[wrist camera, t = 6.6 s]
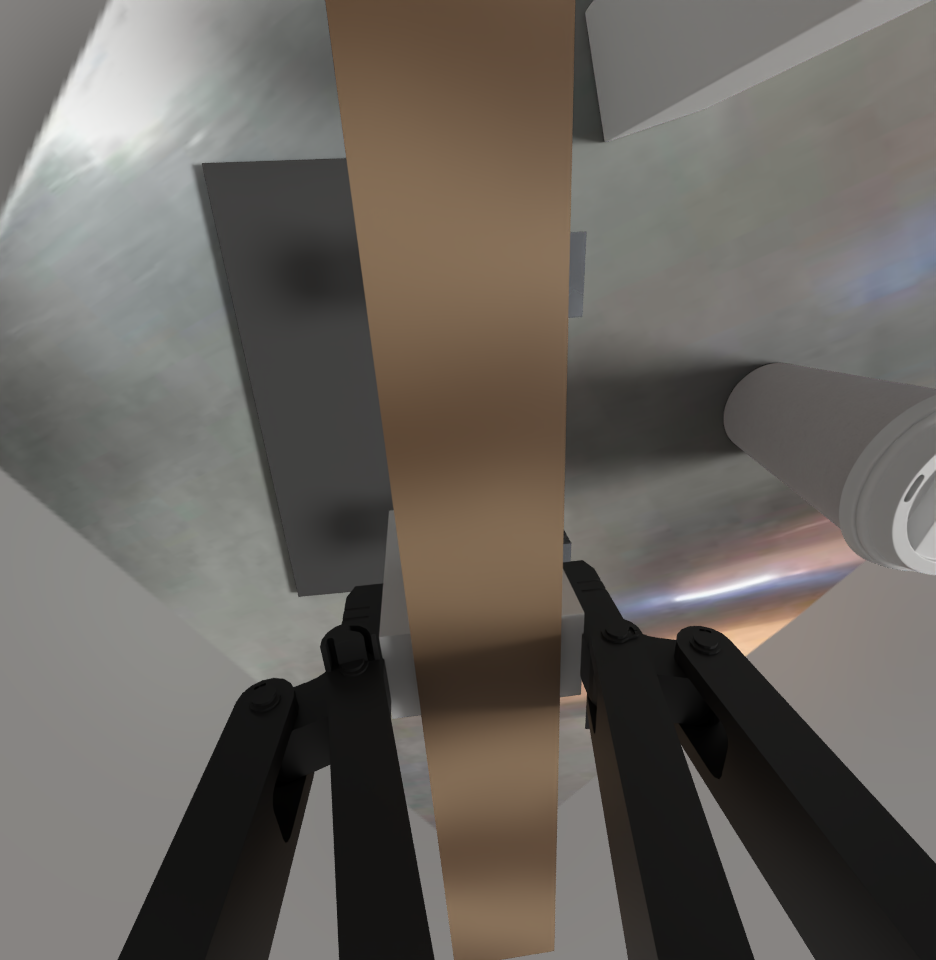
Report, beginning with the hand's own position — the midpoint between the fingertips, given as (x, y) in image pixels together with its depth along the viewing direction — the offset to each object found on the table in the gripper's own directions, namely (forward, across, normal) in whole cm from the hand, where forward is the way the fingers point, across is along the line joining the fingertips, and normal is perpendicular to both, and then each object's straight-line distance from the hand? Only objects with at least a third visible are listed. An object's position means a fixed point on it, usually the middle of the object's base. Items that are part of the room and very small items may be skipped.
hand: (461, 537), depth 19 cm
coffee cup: (+17, +24, -2) cm, 29 cm away
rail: (-3, 0, 0) cm, 3 cm away
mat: (+17, -6, 0) cm, 18 cm away
